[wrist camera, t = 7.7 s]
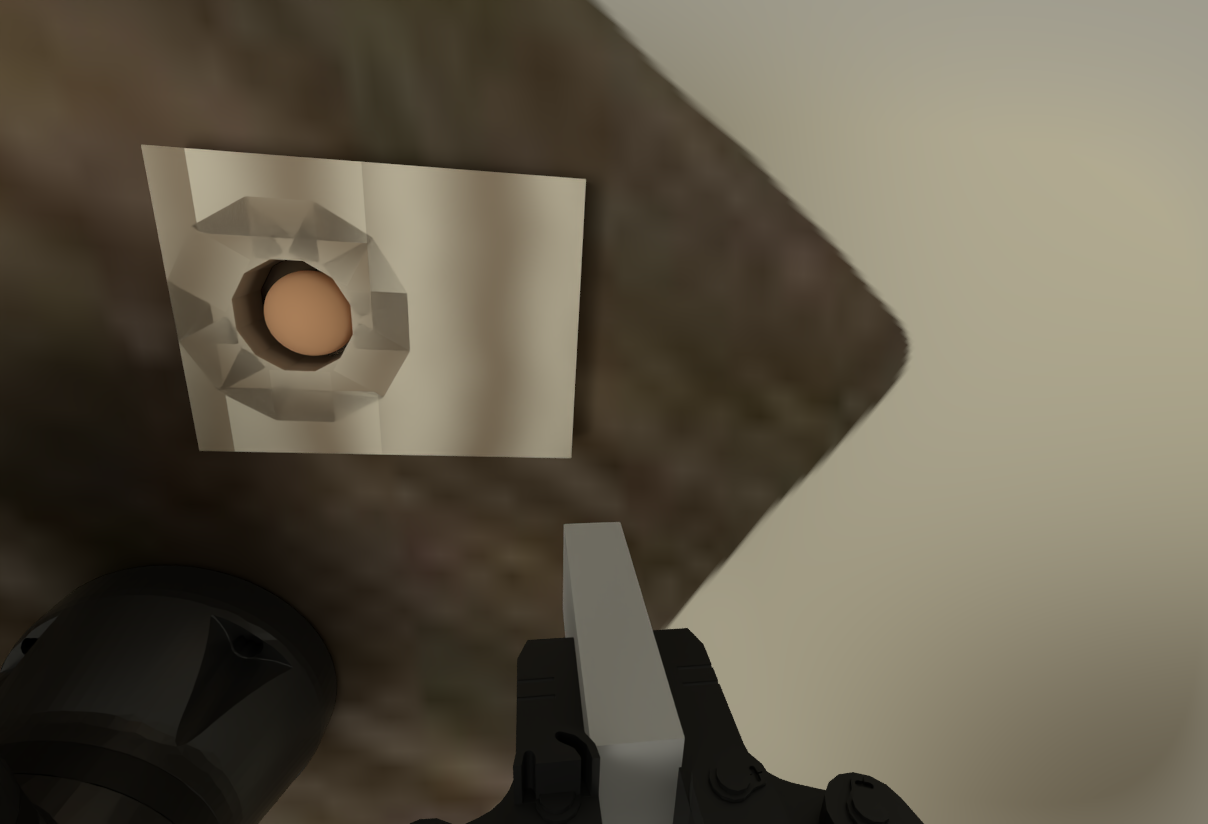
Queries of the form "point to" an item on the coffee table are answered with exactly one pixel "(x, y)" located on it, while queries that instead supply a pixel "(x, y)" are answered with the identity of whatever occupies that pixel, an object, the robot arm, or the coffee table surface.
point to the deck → (375, 303)
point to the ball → (308, 313)
